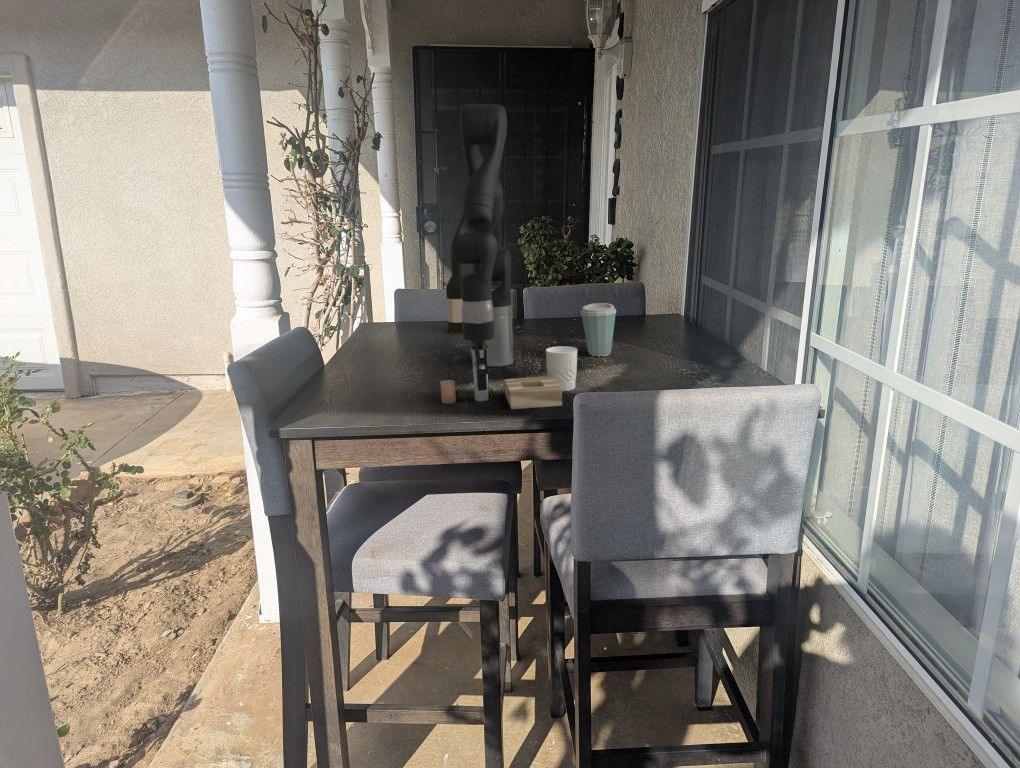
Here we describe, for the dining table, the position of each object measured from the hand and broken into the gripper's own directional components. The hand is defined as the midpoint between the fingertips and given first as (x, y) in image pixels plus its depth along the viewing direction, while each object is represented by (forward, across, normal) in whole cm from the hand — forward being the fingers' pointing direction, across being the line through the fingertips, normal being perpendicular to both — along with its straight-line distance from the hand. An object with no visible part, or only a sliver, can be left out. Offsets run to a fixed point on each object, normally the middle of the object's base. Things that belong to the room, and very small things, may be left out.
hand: (480, 385), depth 173 cm
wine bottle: (+4, -88, 0) cm, 88 cm away
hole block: (+3, +4, +12) cm, 13 cm away
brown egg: (+3, 0, -8) cm, 9 cm away
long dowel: (+3, 0, 0) cm, 3 cm away
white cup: (+4, -5, +21) cm, 22 cm away
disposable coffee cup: (+4, -39, +39) cm, 55 cm away
